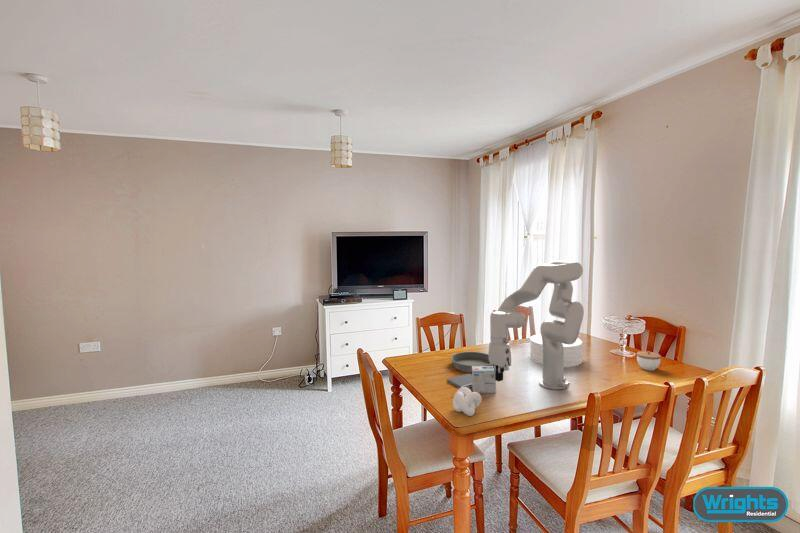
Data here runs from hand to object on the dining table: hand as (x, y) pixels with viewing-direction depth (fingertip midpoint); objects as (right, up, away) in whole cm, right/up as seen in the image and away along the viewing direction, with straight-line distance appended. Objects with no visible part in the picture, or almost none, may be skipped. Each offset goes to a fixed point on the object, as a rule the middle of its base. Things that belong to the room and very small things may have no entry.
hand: (499, 380), depth 169 cm
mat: (-12, -7, +19) cm, 24 cm away
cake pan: (-3, -5, +44) cm, 44 cm away
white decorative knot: (-16, -10, -11) cm, 22 cm away
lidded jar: (+88, -4, +32) cm, 94 cm away
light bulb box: (-5, -8, +10) cm, 13 cm away
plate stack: (+46, -3, +52) cm, 69 cm away
